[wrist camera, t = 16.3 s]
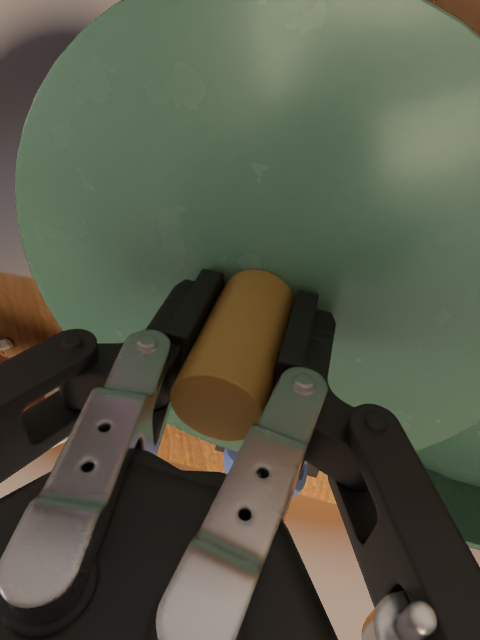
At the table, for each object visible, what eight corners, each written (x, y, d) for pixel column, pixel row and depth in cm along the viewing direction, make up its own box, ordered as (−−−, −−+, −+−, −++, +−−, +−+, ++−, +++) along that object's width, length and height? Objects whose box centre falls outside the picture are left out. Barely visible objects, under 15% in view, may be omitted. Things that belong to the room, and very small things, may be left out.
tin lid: (759, 11, 9) (1142, 66, 4) (433, 484, 21) (444, 635, 16) (-31, -78, 12) (-307, -102, 7) (76, 386, 24) (-2, 491, 19)
